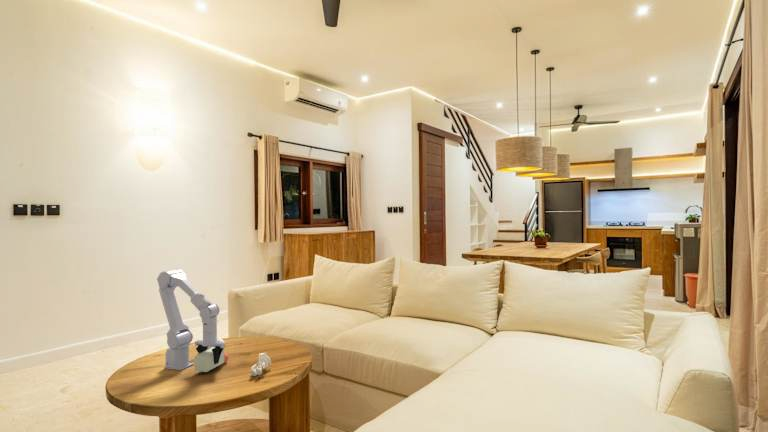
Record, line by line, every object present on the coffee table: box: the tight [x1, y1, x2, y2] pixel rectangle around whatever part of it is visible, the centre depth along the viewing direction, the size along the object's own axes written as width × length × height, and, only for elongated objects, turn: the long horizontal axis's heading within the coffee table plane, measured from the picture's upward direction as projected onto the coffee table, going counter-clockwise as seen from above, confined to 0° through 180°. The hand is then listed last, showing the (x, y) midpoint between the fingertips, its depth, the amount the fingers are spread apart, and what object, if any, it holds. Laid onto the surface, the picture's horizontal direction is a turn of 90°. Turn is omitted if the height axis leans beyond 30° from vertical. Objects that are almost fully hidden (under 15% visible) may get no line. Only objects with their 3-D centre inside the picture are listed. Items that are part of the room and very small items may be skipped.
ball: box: [223, 352, 229, 364], centre depth 190 cm, size 4×4×4 cm
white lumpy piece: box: [250, 351, 272, 377], centre depth 179 cm, size 8×6×12 cm
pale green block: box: [194, 347, 225, 373], centre depth 182 cm, size 6×12×7 cm, turn 164°
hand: (210, 362), depth 182 cm, fingers closed on pale green block, 6 cm apart
